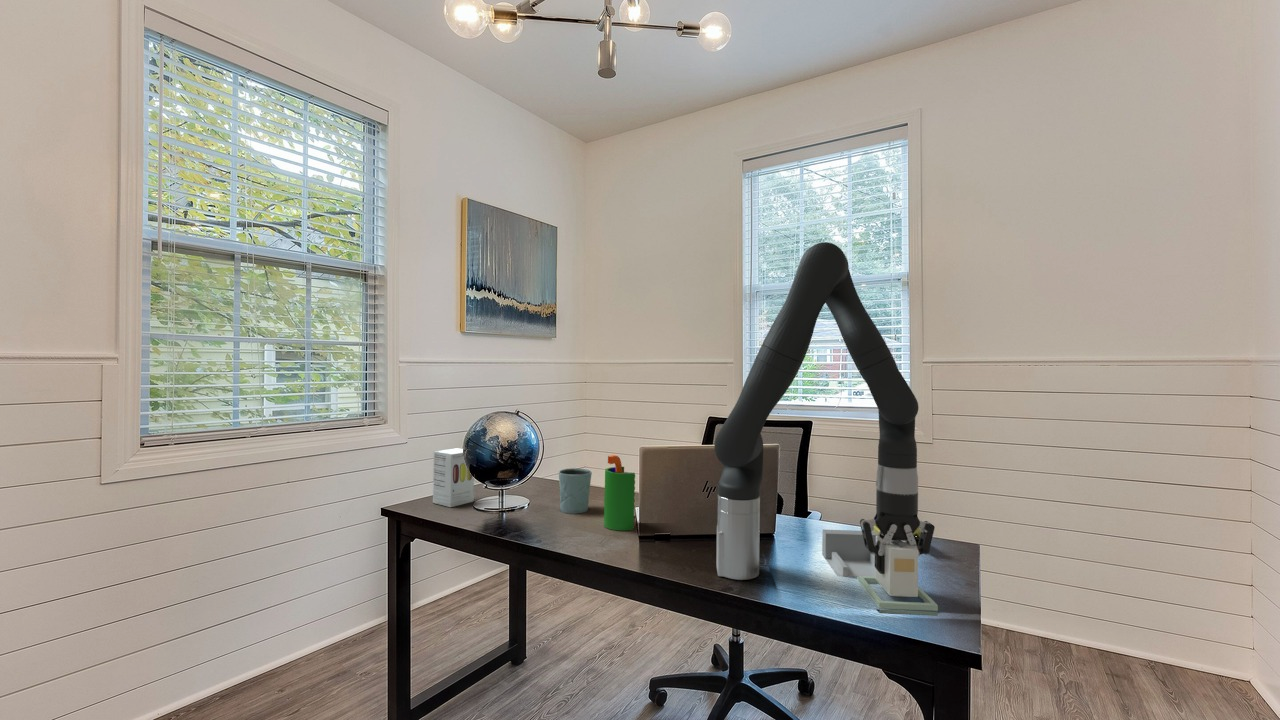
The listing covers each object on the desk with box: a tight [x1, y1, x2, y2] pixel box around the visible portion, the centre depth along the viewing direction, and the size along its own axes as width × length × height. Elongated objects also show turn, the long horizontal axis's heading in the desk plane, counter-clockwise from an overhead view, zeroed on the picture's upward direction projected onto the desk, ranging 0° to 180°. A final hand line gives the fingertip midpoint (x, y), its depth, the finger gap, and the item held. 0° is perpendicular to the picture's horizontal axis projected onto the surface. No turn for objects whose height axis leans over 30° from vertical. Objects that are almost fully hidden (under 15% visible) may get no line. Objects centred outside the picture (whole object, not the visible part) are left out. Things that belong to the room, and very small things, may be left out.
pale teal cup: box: [558, 467, 593, 515], centre depth 172 cm, size 10×10×12 cm
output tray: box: [857, 576, 939, 617], centre depth 110 cm, size 11×13×2 cm
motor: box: [603, 454, 636, 532], centre depth 156 cm, size 10×9×20 cm
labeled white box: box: [875, 536, 919, 598], centre depth 110 cm, size 5×8×10 cm, turn 175°
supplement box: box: [432, 447, 475, 508], centre depth 179 cm, size 10×9×17 cm
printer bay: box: [821, 529, 878, 578], centre depth 125 cm, size 12×13×7 cm
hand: (896, 572), depth 110 cm, fingers closed on labeled white box, 5 cm apart
